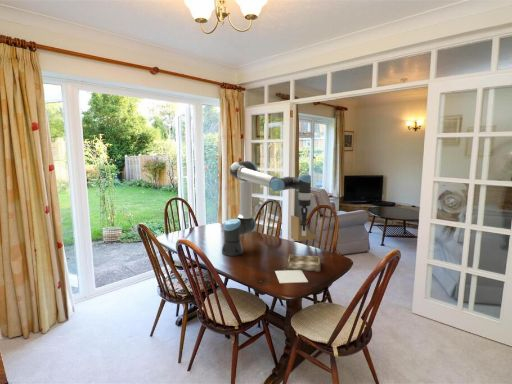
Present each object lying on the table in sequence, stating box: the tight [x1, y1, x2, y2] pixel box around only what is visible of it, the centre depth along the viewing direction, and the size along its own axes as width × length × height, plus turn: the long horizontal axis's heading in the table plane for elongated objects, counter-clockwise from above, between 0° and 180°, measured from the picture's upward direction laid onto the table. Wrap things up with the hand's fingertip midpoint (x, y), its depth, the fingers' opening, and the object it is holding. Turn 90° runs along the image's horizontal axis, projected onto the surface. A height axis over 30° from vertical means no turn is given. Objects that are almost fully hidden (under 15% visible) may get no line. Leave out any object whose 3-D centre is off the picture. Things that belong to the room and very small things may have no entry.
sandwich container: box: [290, 214, 318, 242], centre depth 186 cm, size 9×15×15 cm, turn 116°
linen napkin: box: [274, 269, 309, 284], centre depth 170 cm, size 16×16×1 cm
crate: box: [286, 253, 321, 272], centre depth 186 cm, size 20×15×5 cm
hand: (303, 232), depth 186 cm, fingers closed on sandwich container, 12 cm apart
